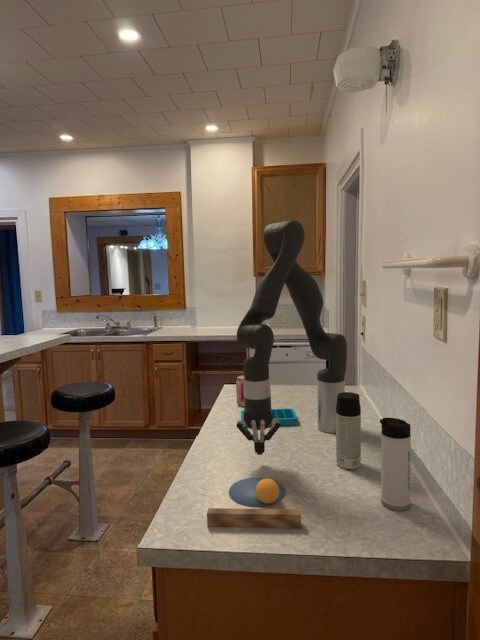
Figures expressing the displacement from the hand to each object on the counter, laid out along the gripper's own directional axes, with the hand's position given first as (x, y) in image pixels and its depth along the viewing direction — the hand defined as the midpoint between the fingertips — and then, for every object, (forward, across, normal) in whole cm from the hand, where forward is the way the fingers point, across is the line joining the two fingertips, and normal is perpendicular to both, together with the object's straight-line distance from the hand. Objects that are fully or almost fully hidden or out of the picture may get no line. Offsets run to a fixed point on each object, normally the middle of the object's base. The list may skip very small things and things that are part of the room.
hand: (259, 453), depth 118 cm
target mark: (+3, 0, +15) cm, 15 cm away
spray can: (+4, -25, 0) cm, 25 cm away
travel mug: (+3, -32, +20) cm, 38 cm away
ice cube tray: (+4, -2, -36) cm, 36 cm away
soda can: (+4, +8, -56) cm, 57 cm away
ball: (0, -2, +20) cm, 20 cm away
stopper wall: (+3, 0, +29) cm, 29 cm away
